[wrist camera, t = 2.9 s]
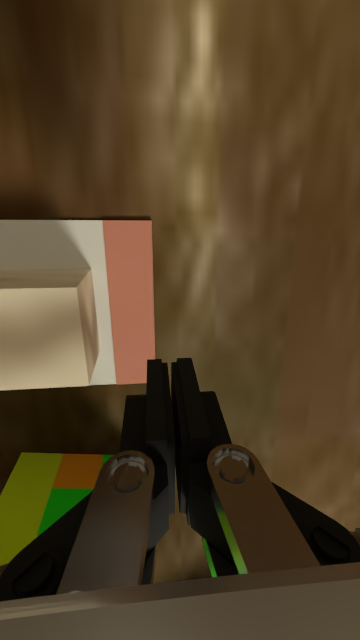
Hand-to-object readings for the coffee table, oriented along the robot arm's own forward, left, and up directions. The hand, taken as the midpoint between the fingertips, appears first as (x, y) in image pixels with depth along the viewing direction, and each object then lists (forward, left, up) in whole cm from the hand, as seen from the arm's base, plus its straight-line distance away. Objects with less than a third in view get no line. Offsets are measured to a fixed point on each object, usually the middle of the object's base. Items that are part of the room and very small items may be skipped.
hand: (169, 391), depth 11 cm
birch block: (0, +8, -10) cm, 13 cm away
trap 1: (0, +2, -10) cm, 11 cm away
